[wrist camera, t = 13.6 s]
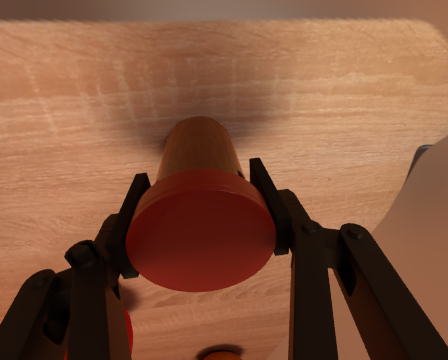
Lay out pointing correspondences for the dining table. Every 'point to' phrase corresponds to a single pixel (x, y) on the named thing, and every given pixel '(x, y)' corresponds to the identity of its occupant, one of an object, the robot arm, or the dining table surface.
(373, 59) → the dining table surface
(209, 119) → the jar
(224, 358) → the fruit
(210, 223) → the lid
